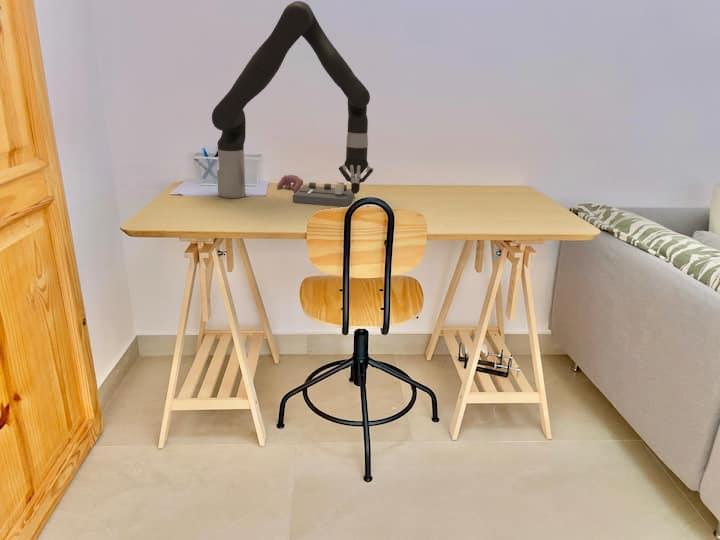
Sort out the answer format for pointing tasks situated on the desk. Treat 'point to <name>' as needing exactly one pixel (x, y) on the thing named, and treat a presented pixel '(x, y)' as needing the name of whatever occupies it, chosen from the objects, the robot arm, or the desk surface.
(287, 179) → the maroon arched lump
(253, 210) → the desk surface
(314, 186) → the console
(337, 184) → the fader knob
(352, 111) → the robot arm
